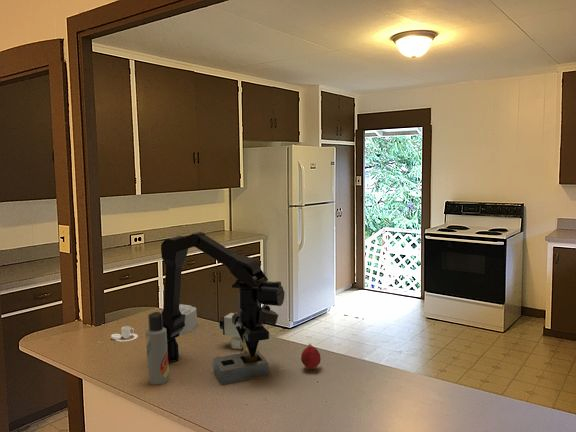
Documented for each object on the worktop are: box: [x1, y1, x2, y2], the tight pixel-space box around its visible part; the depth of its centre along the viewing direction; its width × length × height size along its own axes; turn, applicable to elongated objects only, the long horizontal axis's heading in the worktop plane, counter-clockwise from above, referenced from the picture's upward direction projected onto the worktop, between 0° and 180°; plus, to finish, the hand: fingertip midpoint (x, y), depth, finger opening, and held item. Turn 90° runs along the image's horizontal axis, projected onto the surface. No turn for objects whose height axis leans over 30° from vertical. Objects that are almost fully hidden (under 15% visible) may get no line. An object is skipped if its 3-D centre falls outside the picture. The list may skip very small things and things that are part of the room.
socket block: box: [212, 350, 270, 386], centre depth 145 cm, size 14×10×4 cm
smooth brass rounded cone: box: [243, 333, 258, 364], centre depth 146 cm, size 4×4×9 cm
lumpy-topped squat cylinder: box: [179, 303, 198, 336], centre depth 184 cm, size 10×13×9 cm
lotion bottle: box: [145, 311, 170, 386], centre depth 141 cm, size 6×6×20 cm
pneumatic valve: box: [219, 312, 244, 350], centre depth 165 cm, size 6×12×12 cm, turn 66°
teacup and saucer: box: [110, 325, 139, 343], centre depth 177 cm, size 9×8×4 cm
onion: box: [300, 343, 322, 371], centre depth 146 cm, size 6×6×8 cm
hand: (250, 353), depth 146 cm, fingers closed on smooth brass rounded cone, 4 cm apart
